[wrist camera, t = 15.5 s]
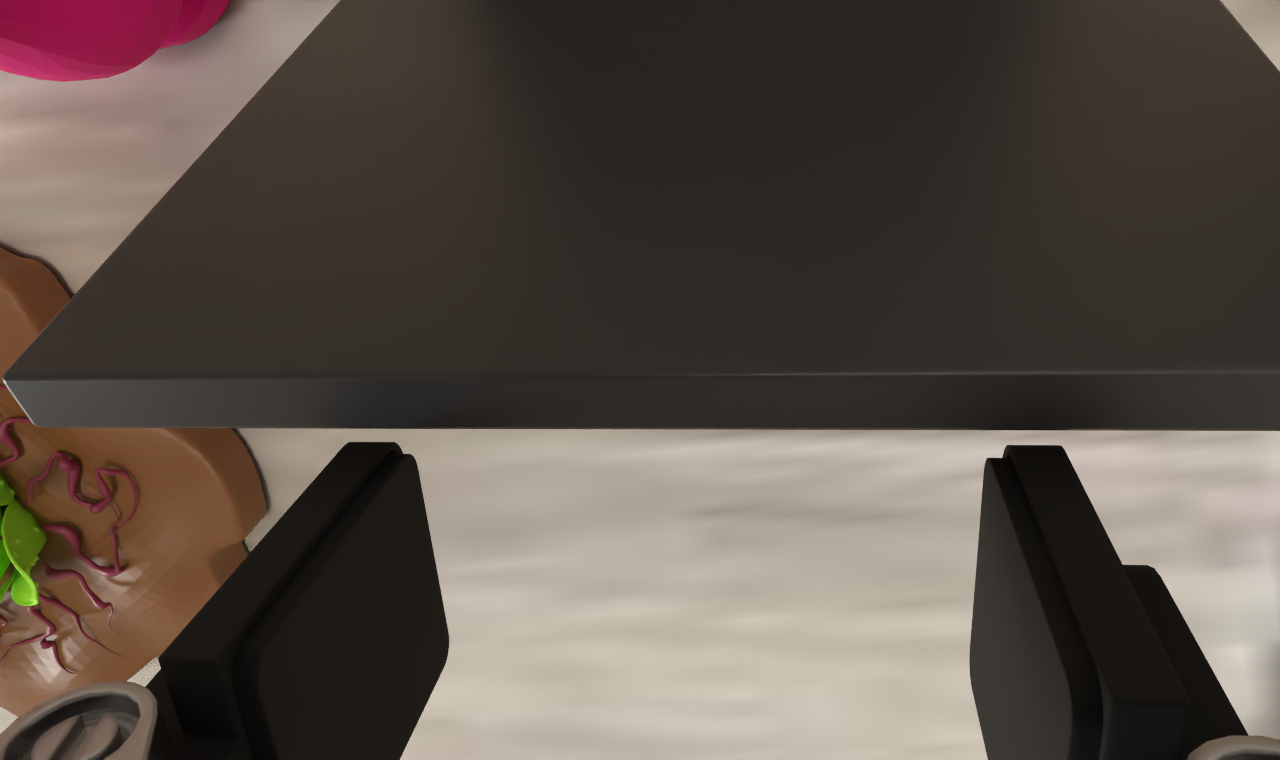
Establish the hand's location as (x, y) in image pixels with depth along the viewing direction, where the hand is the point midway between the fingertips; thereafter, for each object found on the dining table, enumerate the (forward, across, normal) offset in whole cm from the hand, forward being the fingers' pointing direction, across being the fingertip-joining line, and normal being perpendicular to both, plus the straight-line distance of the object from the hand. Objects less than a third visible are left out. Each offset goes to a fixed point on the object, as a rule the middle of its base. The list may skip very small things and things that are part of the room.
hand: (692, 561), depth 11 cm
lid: (+7, 0, -5) cm, 9 cm away
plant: (+22, +31, +12) cm, 40 cm away
